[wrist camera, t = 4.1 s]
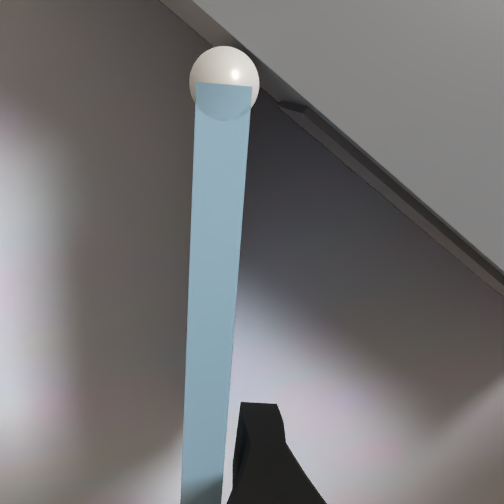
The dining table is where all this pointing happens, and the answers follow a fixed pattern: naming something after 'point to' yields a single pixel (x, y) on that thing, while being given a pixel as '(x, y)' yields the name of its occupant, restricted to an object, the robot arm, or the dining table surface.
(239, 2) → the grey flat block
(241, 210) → the side door
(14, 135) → the dining table surface
